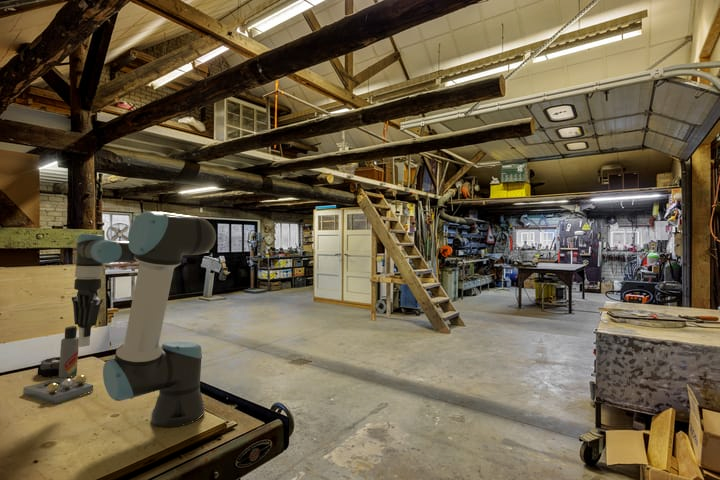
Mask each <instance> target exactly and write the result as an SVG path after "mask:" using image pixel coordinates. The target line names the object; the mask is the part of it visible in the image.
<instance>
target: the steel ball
mask: <svg viewBox="0 0 720 480" xmlns="http://www.w3.org/2000/svg"><path fill="white" fill-rule="evenodd" d="M72 380H73V379H72ZM72 380H71V378H68V379H66V380H64V381H63V382H62V387H63V388H65V389H67V388H70V387H71V386H72V385H73V381H72Z"/></svg>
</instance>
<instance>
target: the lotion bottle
mask: <svg viewBox="0 0 720 480" xmlns="http://www.w3.org/2000/svg"><path fill="white" fill-rule="evenodd" d="M77 330H78V326H77V325H71V326H67V327H65V328H64V338H62V339H61V341H60V353H59V354H60V355H59V357H60V365H59V376H58V378H59V377H60V378H61V377H64V378H66V377H70V378H72V377H71V376H73V377H75V376H74V375H76V376H77V373H78V364H79V363H78V361H79V360H78V359H79V346H78V341H79V336H77V332H78V331H77Z"/></svg>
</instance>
